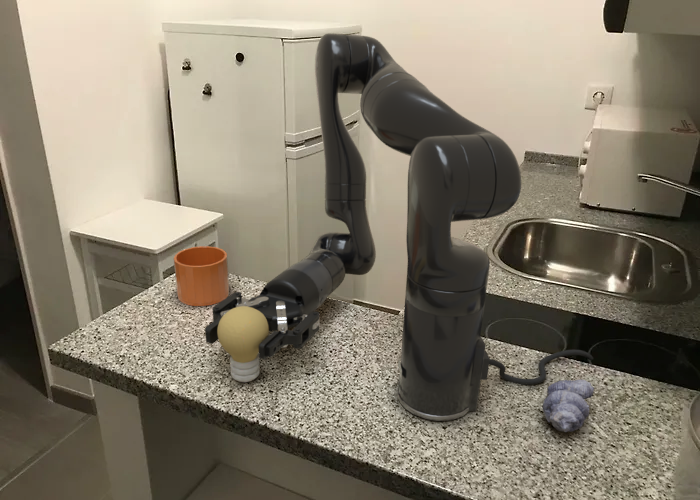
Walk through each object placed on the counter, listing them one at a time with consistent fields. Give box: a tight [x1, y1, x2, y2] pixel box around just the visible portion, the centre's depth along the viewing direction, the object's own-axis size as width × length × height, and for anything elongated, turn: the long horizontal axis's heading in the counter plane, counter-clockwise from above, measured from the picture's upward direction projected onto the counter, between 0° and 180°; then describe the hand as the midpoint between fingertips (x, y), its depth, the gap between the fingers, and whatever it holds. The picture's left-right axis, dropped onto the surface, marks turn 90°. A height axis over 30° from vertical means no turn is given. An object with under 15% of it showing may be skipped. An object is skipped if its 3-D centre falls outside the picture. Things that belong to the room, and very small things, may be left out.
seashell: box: [542, 379, 595, 433], centre depth 70 cm, size 5×5×10 cm
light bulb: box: [217, 306, 270, 383], centre depth 75 cm, size 6×6×10 cm
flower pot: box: [173, 245, 230, 307], centre depth 97 cm, size 8×8×7 cm
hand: (234, 344), depth 73 cm, fingers open, 7 cm apart
